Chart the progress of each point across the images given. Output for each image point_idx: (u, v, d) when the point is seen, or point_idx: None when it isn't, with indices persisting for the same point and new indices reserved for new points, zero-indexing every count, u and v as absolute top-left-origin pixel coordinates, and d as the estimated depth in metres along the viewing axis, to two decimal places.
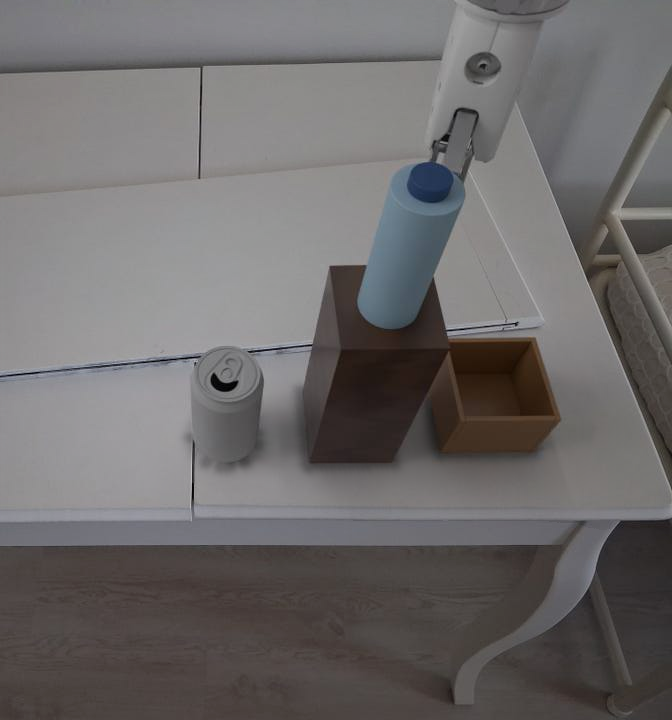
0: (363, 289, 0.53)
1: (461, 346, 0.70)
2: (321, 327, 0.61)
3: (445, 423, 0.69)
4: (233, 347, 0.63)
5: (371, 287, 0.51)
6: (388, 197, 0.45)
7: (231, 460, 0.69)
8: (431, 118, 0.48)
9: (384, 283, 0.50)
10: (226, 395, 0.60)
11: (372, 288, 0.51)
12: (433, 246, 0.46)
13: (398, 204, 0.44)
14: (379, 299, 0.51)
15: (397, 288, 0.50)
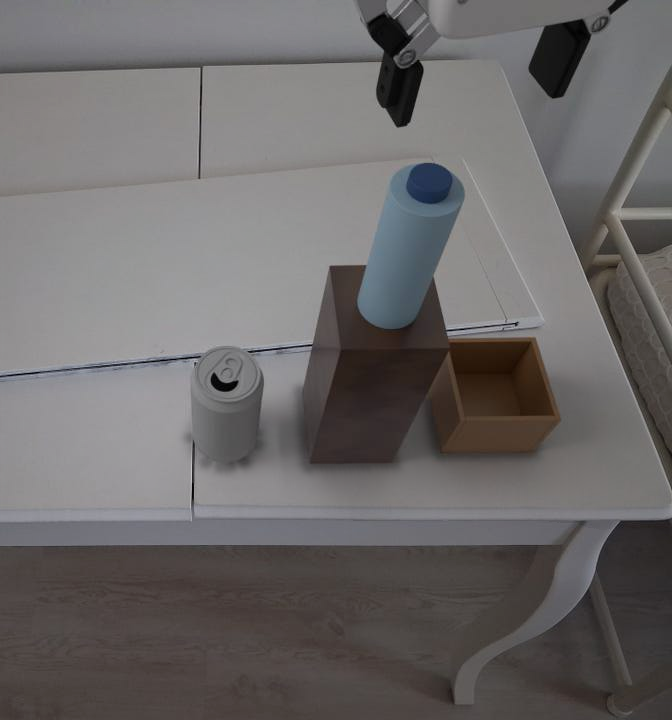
0: (363, 289, 0.53)
1: (461, 346, 0.70)
2: (321, 327, 0.61)
3: (445, 423, 0.69)
4: (233, 347, 0.63)
5: (371, 288, 0.51)
6: (387, 198, 0.45)
7: (231, 460, 0.69)
8: None
9: (384, 283, 0.50)
10: (226, 395, 0.60)
11: (372, 288, 0.51)
12: (432, 247, 0.46)
13: (397, 205, 0.44)
14: (379, 299, 0.51)
15: (397, 289, 0.50)
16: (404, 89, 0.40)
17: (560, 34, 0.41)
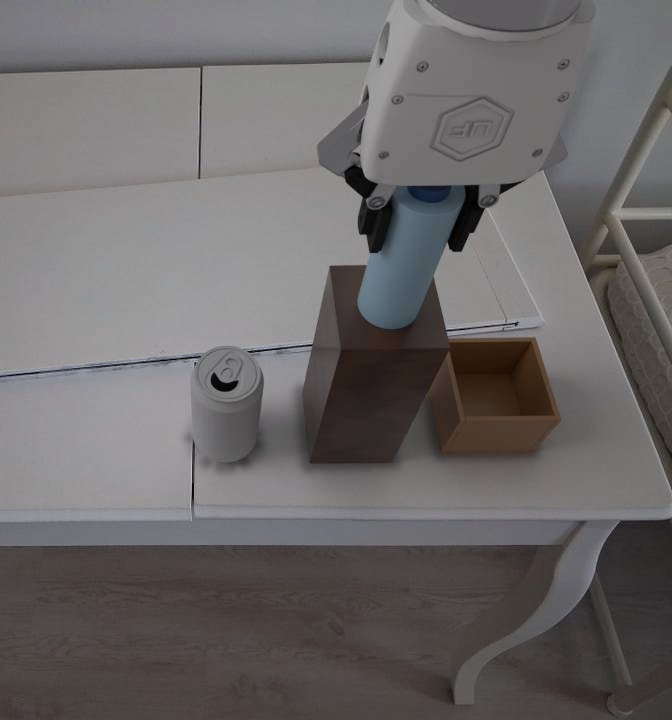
0: (363, 289, 0.53)
1: (461, 346, 0.70)
2: (321, 327, 0.61)
3: (445, 423, 0.69)
4: (233, 347, 0.63)
5: (371, 287, 0.51)
6: None
7: (231, 460, 0.69)
8: None
9: (384, 283, 0.50)
10: (226, 395, 0.60)
11: (372, 288, 0.51)
12: (433, 246, 0.46)
13: (398, 204, 0.44)
14: (379, 299, 0.51)
15: (397, 288, 0.50)
16: (376, 224, 0.46)
17: None
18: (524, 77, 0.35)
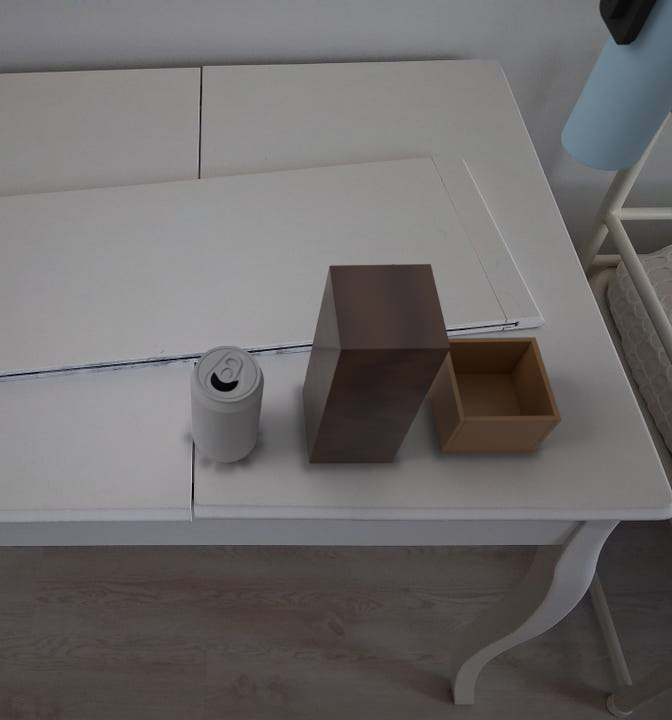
0: (579, 117, 0.41)
1: (461, 346, 0.70)
2: (321, 327, 0.61)
3: (445, 423, 0.69)
4: (233, 347, 0.63)
5: (598, 108, 0.40)
6: None
7: (231, 460, 0.69)
8: None
9: (624, 95, 0.38)
10: (226, 395, 0.60)
11: (600, 108, 0.40)
12: None
13: None
14: (608, 122, 0.40)
15: (642, 101, 0.38)
16: None
17: None
18: None
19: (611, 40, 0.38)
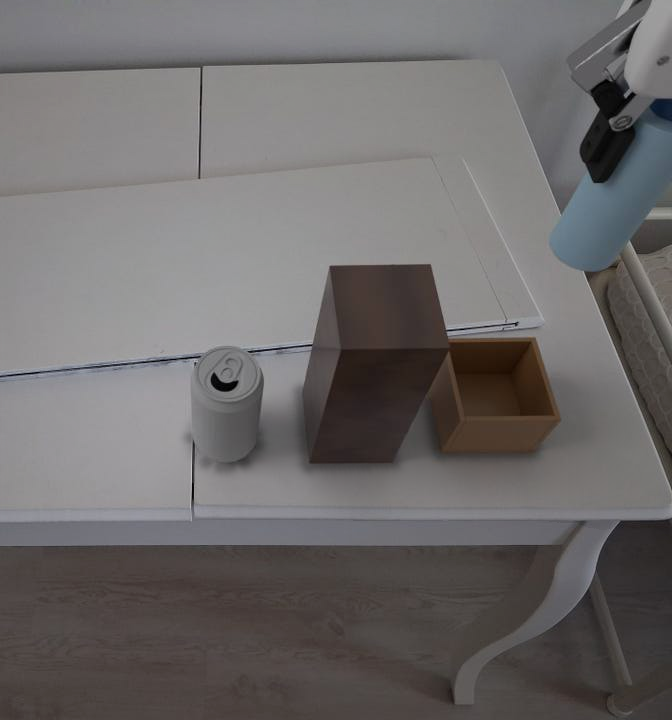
0: (564, 228, 0.50)
1: (461, 346, 0.70)
2: (321, 327, 0.61)
3: (445, 423, 0.69)
4: (233, 347, 0.63)
5: (579, 224, 0.48)
6: None
7: (231, 460, 0.69)
8: None
9: (599, 218, 0.47)
10: (226, 395, 0.60)
11: (581, 225, 0.48)
12: (671, 173, 0.43)
13: (643, 124, 0.41)
14: (587, 236, 0.48)
15: (614, 223, 0.47)
16: (610, 149, 0.43)
17: None
18: None
19: None
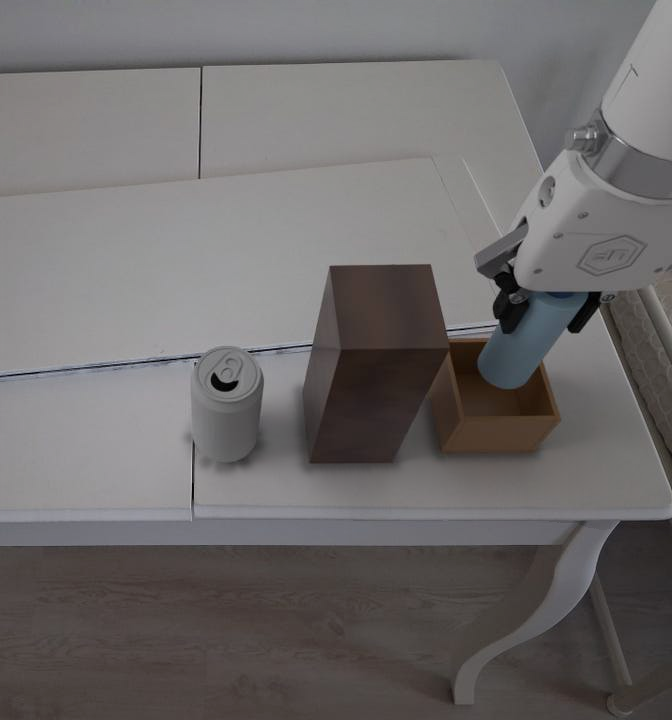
0: (486, 356, 0.64)
1: (461, 346, 0.70)
2: (321, 327, 0.61)
3: (445, 423, 0.69)
4: (233, 347, 0.63)
5: (496, 357, 0.62)
6: None
7: (231, 460, 0.69)
8: None
9: (510, 355, 0.61)
10: (227, 395, 0.60)
11: (497, 357, 0.62)
12: (558, 330, 0.57)
13: (534, 299, 0.55)
14: (503, 366, 0.62)
15: (521, 360, 0.60)
16: (513, 313, 0.57)
17: None
18: (660, 223, 0.46)
19: None
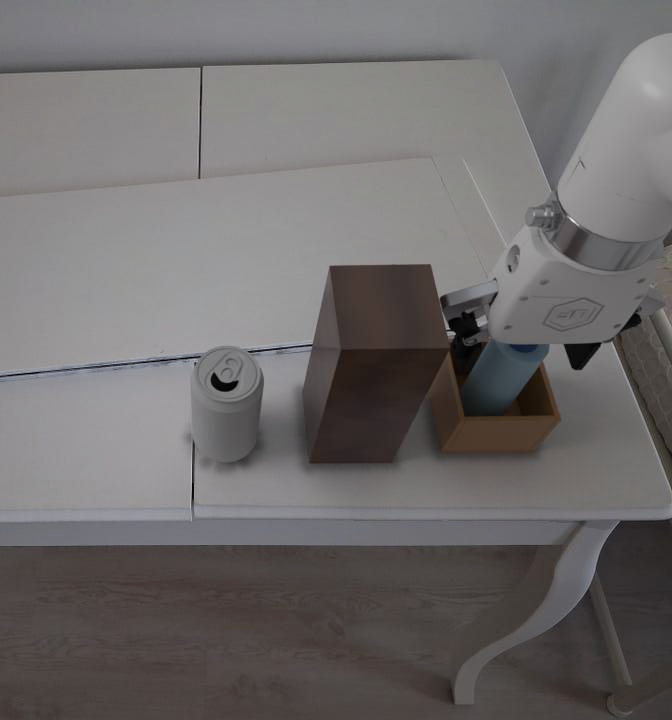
0: (462, 399, 0.70)
1: None
2: (321, 327, 0.61)
3: (445, 423, 0.69)
4: (233, 347, 0.63)
5: (470, 400, 0.68)
6: (492, 345, 0.62)
7: (231, 460, 0.69)
8: None
9: (482, 399, 0.67)
10: (226, 395, 0.60)
11: (471, 401, 0.68)
12: (523, 379, 0.63)
13: (501, 353, 0.61)
14: (476, 408, 0.68)
15: (492, 404, 0.67)
16: (468, 353, 0.61)
17: None
18: (613, 287, 0.51)
19: (475, 369, 0.67)
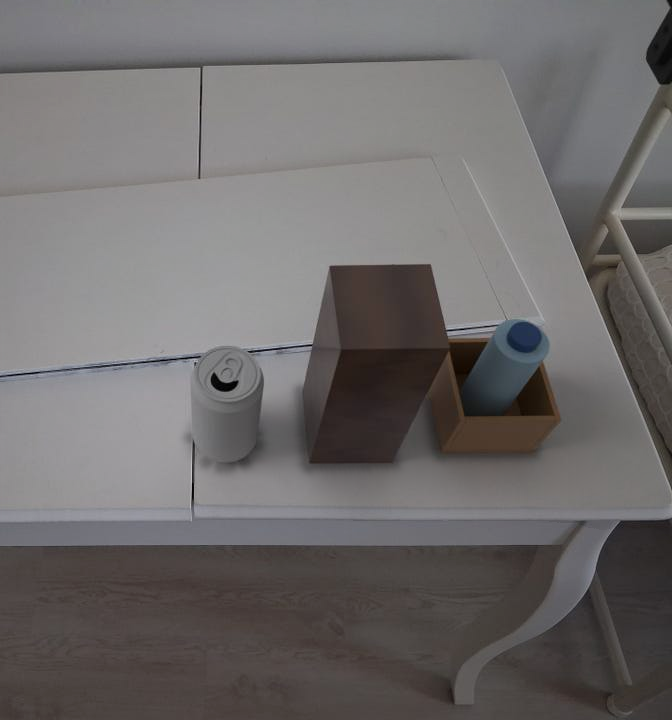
0: (462, 399, 0.70)
1: (461, 346, 0.70)
2: (321, 327, 0.61)
3: (445, 423, 0.69)
4: (233, 347, 0.63)
5: (470, 400, 0.68)
6: (492, 345, 0.62)
7: (231, 460, 0.69)
8: None
9: (482, 399, 0.67)
10: (227, 395, 0.60)
11: (471, 401, 0.68)
12: (523, 379, 0.63)
13: (501, 353, 0.61)
14: (476, 408, 0.68)
15: (492, 404, 0.67)
16: None
17: None
18: None
19: (475, 369, 0.67)
